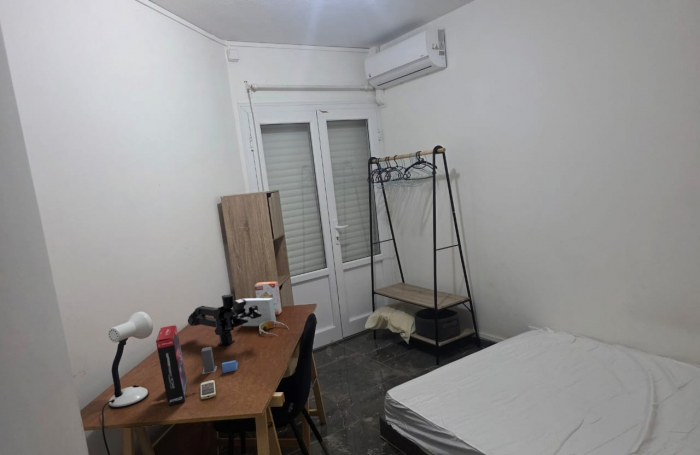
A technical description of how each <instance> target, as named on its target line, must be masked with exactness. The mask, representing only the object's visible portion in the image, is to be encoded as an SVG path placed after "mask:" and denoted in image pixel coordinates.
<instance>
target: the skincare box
mask: <svg viewBox="0 0 700 455" xmlns="http://www.w3.org/2000/svg"><path fill="white" fill-rule="evenodd" d="M244 299H245V300H246V305H245V306H244V308H245V309H246V311H245V312H246V313H248V312H249V307H251V306H254V305H257V306H258V312H259V313H261V314H262V316H261V317H258V318H255V319H252V318H250V317H248V318H246V319H247V320H248V322H247V323H245V324H242V325H241V326H242V327H259V326H260V324H261V323H263V322H265V321H269V320H270V321H276V322H277V318H276V315H275V309H274V301H273V298H256V297H254V298H253V297H252V298H244ZM276 324H277V323H275V325H276Z"/></svg>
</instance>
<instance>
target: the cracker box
mask: <svg viewBox="0 0 700 455" xmlns="http://www.w3.org/2000/svg"><path fill="white" fill-rule="evenodd" d="M279 289H280V288H279V282H278V281H263V282H262V281H261V282H257V283H255V284H254V290H255V298H273V301H274V309H275V316H277V315H280V314H281V313H282V304H281V296H280V295H281V294H280V290H279Z"/></svg>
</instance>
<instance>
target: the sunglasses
mask: <svg viewBox="0 0 700 455" xmlns="http://www.w3.org/2000/svg"><path fill="white" fill-rule="evenodd" d="M275 323H276V324H279V325H280V324H281V325H283V326H284V327H286V328H287V329H288V330H290V329H289V328H290V327H288V325H287V324H285V323H282V322H279V321H277V320H276V321H270V320H269V321H265V322H263V323H261V324H260V326H258V327H259V328H258V331H259V334H260V335H262V333H264V334H267V335H271V336H274V337H278V336H279V335H277V334H274V333H271V332H267V331H265V330H268V329H271V328H275V327H276V324H275Z"/></svg>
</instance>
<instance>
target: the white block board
mask: <svg viewBox="0 0 700 455" xmlns="http://www.w3.org/2000/svg"><path fill="white" fill-rule="evenodd" d="M238 364H239V361H237V360H236V359H235V360H230V361H225V362H222V363H221V368H222V373H223V374H224V373H229V372H233V371H237V370H238ZM214 366H215V368H214V371H210V372H204V368H203V370H202V372H201V375H204V374H210V373H214V372H216V371H217V368H218V366H217V365H214Z"/></svg>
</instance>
